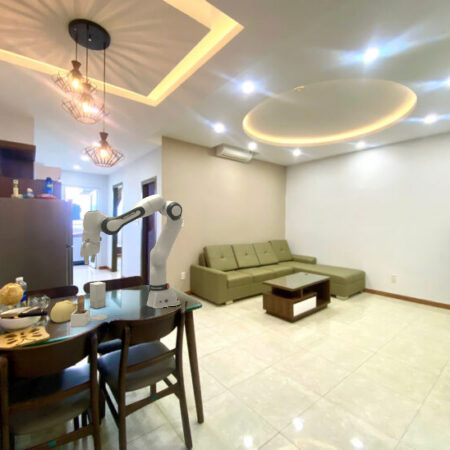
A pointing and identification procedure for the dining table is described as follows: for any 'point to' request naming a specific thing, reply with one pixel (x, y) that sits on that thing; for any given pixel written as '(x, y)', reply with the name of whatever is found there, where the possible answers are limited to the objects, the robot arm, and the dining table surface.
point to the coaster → (98, 317)
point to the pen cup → (80, 318)
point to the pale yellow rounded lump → (63, 311)
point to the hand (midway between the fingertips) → (89, 262)
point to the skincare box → (97, 295)
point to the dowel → (80, 304)
